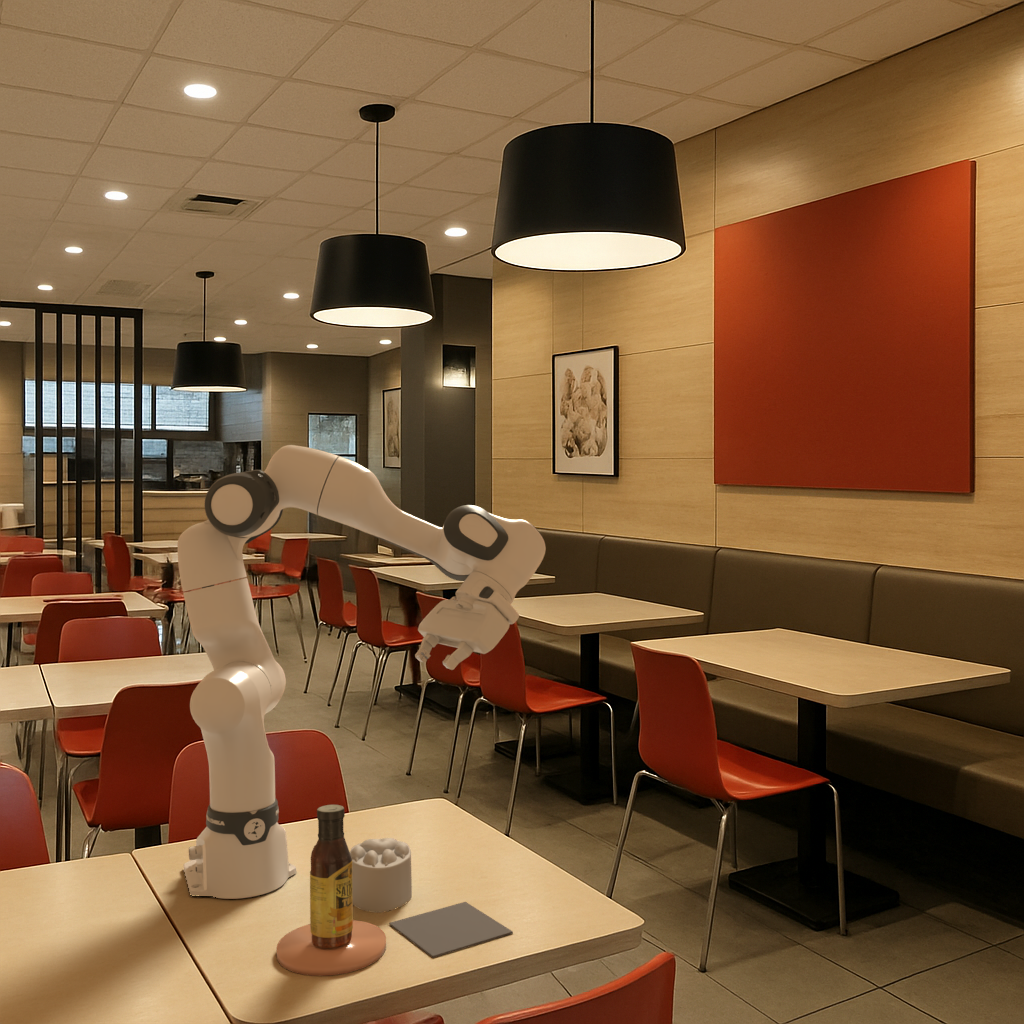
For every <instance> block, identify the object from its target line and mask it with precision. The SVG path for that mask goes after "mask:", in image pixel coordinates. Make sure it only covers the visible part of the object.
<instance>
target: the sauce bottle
mask: <svg viewBox="0 0 1024 1024" xmlns="http://www.w3.org/2000/svg"><path fill="white" fill-rule="evenodd" d="M316 818H317V821H318V823H317V824H318V834H317V838H318V839H317V841H316V843H315V845H314V846H313V848H312V851H311V853H310V871H309V900H310V901H309V903H310V905H309V909H310V910H309V915H310V916H309V920H310V921H309V922H310V923H309V924H310V931H311V934H312V943H313V945H314V946H316V947H318V948H325V949H333V948H337V947H341V946H344V945H346V944H348V943H349V942H350V941H351V937H352V930H353V920H354V917H353V915H354V914H353V913H354V912H353V911H354V910H353V909H354V907H353V906H354V905H353V880H352V858H351V855H350V850H349V847H348V844H347V841H346V838H345V832H344V818H345V807H344V806H343V805H339V804H327V805H322V806H319V807H318V808H317V809H316Z"/></svg>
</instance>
